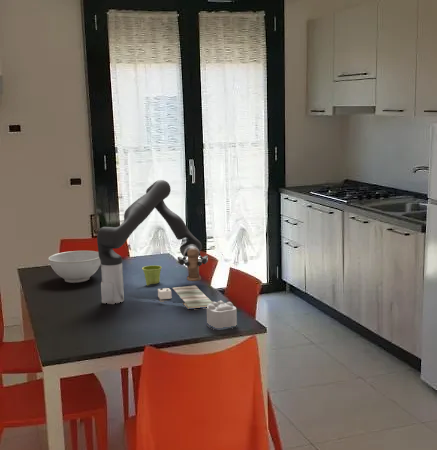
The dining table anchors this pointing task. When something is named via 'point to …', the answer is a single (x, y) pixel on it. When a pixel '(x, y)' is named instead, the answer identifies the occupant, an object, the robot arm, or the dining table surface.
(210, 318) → the lumpy-topped squat cylinder
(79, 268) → the decorative bowl
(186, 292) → the game board
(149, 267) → the plant pot
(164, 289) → the die
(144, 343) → the dining table surface
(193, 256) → the pawn
